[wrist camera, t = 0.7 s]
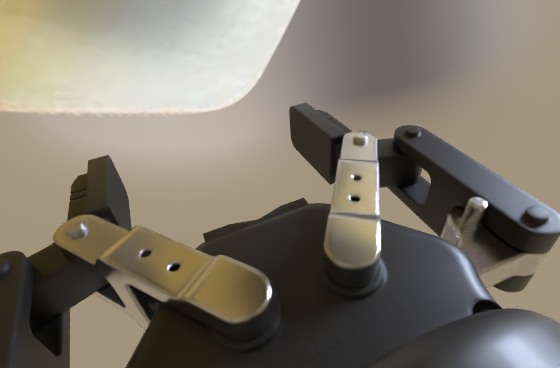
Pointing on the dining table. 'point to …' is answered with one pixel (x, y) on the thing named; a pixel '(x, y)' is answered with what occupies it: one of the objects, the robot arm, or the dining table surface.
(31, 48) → the dining table surface
